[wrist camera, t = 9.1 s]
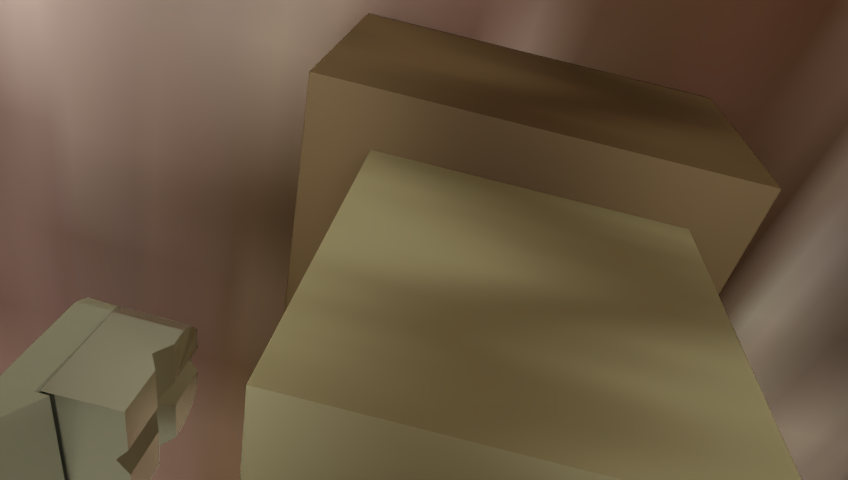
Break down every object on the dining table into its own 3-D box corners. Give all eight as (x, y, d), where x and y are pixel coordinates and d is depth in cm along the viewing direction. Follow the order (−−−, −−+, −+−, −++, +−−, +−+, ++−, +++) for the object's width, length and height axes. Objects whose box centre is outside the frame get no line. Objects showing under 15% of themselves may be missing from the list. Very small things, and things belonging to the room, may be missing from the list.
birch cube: (689, 228, 9) (824, 531, 5) (578, 440, 12) (608, 752, 8) (371, 149, 9) (246, 384, 5) (331, 377, 12) (227, 654, 8)
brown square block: (710, 98, 12) (780, 189, 9) (588, 352, 16) (605, 484, 13) (368, 13, 12) (309, 71, 9) (327, 286, 16) (274, 400, 13)
